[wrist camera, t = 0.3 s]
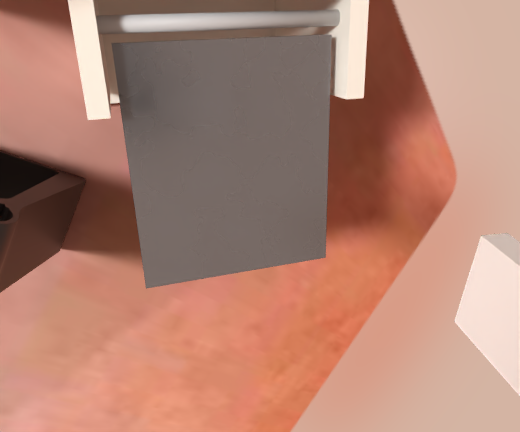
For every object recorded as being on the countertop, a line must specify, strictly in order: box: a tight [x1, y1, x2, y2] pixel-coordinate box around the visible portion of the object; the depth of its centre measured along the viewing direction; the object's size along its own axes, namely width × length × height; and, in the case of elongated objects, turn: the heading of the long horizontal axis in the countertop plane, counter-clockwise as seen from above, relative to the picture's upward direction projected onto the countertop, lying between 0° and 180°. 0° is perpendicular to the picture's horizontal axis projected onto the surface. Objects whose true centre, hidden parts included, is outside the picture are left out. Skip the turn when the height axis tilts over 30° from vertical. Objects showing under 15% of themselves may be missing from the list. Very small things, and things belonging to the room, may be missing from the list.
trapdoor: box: [111, 34, 332, 288], centre depth 24 cm, size 21×11×4 cm, turn 2°
